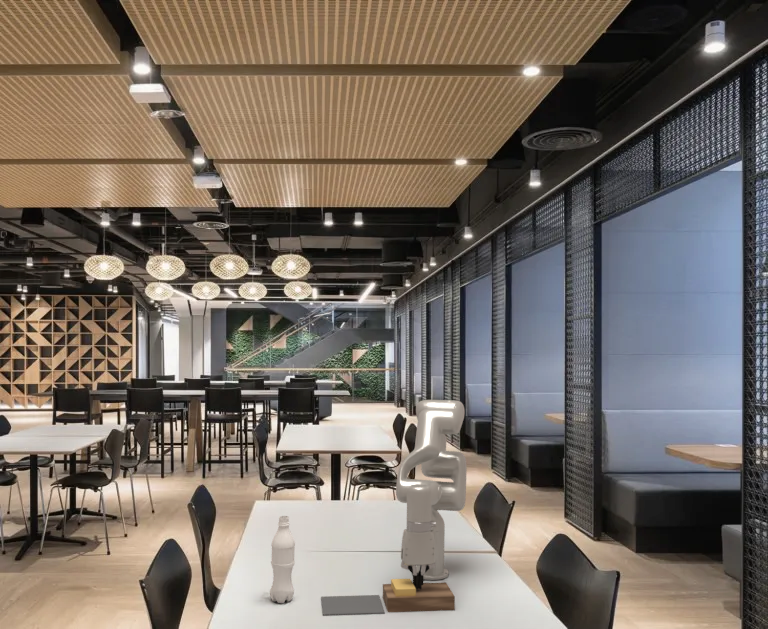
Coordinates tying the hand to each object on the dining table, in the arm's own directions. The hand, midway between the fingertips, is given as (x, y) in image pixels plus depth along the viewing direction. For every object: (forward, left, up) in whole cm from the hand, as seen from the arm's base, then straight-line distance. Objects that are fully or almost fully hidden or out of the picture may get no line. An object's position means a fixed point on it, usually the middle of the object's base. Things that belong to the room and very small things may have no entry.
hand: (417, 587), depth 201 cm
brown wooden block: (0, 0, -5) cm, 5 cm away
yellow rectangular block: (0, -5, -1) cm, 5 cm away
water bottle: (-6, -41, -5) cm, 42 cm away
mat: (0, -20, -5) cm, 21 cm away
